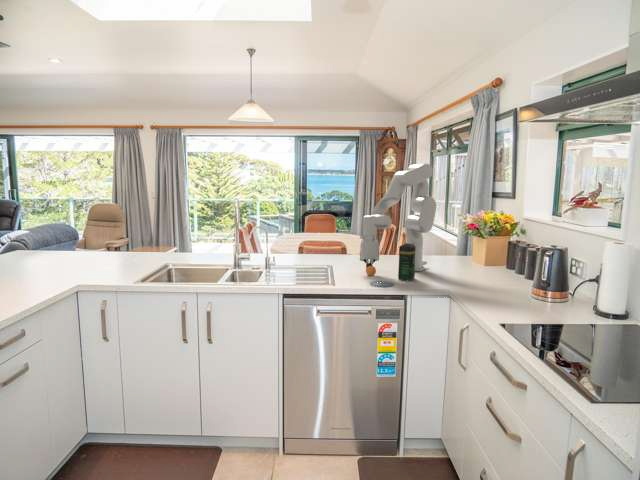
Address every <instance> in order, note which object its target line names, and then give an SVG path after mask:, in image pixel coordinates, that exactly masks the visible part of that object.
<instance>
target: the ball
mask: <svg viewBox="0 0 640 480" xmlns="http://www.w3.org/2000/svg"><path fill="white" fill-rule="evenodd" d="M376 272H377V269H376V267H375V266H373V265H372V266H368V267H367V268H366V267H365V273H366V275H367V276H369V277H371V276H372V277H373V276H375V274H376Z"/></svg>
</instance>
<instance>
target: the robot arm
mask: <svg viewBox="0 0 640 480" xmlns="http://www.w3.org/2000/svg"><path fill="white" fill-rule="evenodd" d="M433 174H434V169H433V167H432V165H430V164H429V163H416V164H415V163H414V164H411V165H409V166H408V167H407V169H406V170H399V171H396V172H395V173H394V174H393V176H392V179H391V181H390V183H389V185H388V188H387V190H386V192H385V194H384V196H383V197H382V198H380V200H379V201H378V202H377V203H376V205H375V206H374V208H373V210H372V212H371V214H369V215H364V216H363V218H362V235H360V236H359V238H360V239H362V240H361V242H360V249H359V261H361V262H364V263H365V264H366V265H365V269H366V268H367V267H368V266H373V264H374V263H375V262H378V261H379V260H380V243H379V241H378V240H377V239H378V238H377V234H378V230H377V229H382V230H386V229H389V228H391V226H392V225H393V220H392V218H391V217H390V216H389V215H387V214H385V213H386V212H387V211H388V210H389V209H390V208H391V207H392V206H395V205H396V204H398V203H399V202H400V200H401V198H402V196H403V193H404V191H405V189H406V187H412V186H413V187H412V188H413V189H412V190H413V191H412V195H411V201H410V209H411V211H412V212H413V213H419V214H410V215H408V216H407V217H406V218H405V220H404V230H405V244H406V243H408V244H413V245H415V272H422V271H425V269H426V267H425V266H426V265H427V264H428V262H427V261H426V260H425V261H423V250H424V249H423V247H424V246H423V245H424V237H423V234H428V233H429V232H431V230H432V229H433V226H434V222H435V217H436V212H437V201H436V199H435V198H434V197H433V196H429V190H430V185H429V181H428V179H430V178H431V177H432V176H433Z"/></svg>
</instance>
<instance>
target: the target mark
mask: <svg viewBox="0 0 640 480" xmlns="http://www.w3.org/2000/svg"><path fill="white" fill-rule="evenodd" d="M377 282H378V283H377ZM380 282H381V283H380ZM369 285H370V286H372V287H376V286H377V287H376V288H390V287H393V286H395V283H394V282H392V281H386V280H375V281H370V282H369Z"/></svg>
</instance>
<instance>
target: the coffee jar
mask: <svg viewBox="0 0 640 480" xmlns="http://www.w3.org/2000/svg"><path fill="white" fill-rule="evenodd" d="M415 273H416V271H415V245H413V244H408V243H406V242H405V244H402V245H400V246H399V247H398V274H397V278H398V280H401V281H413V280H414V279H415Z"/></svg>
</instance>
